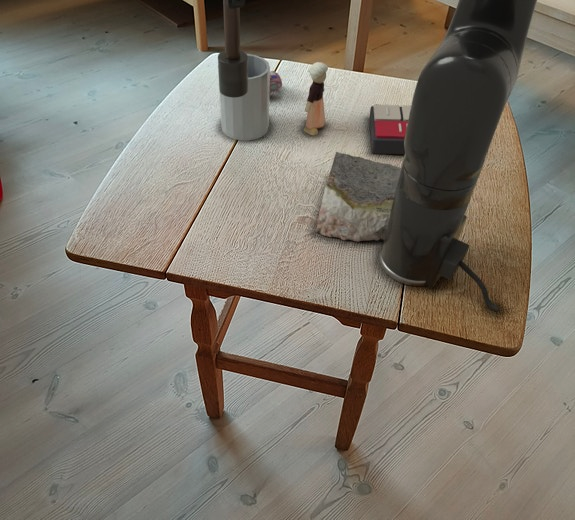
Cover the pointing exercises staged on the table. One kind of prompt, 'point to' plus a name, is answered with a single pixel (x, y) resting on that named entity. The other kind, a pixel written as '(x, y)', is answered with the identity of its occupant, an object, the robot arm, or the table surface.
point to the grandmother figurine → (316, 99)
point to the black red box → (388, 128)
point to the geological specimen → (357, 199)
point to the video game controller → (275, 81)
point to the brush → (232, 57)
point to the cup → (248, 104)
